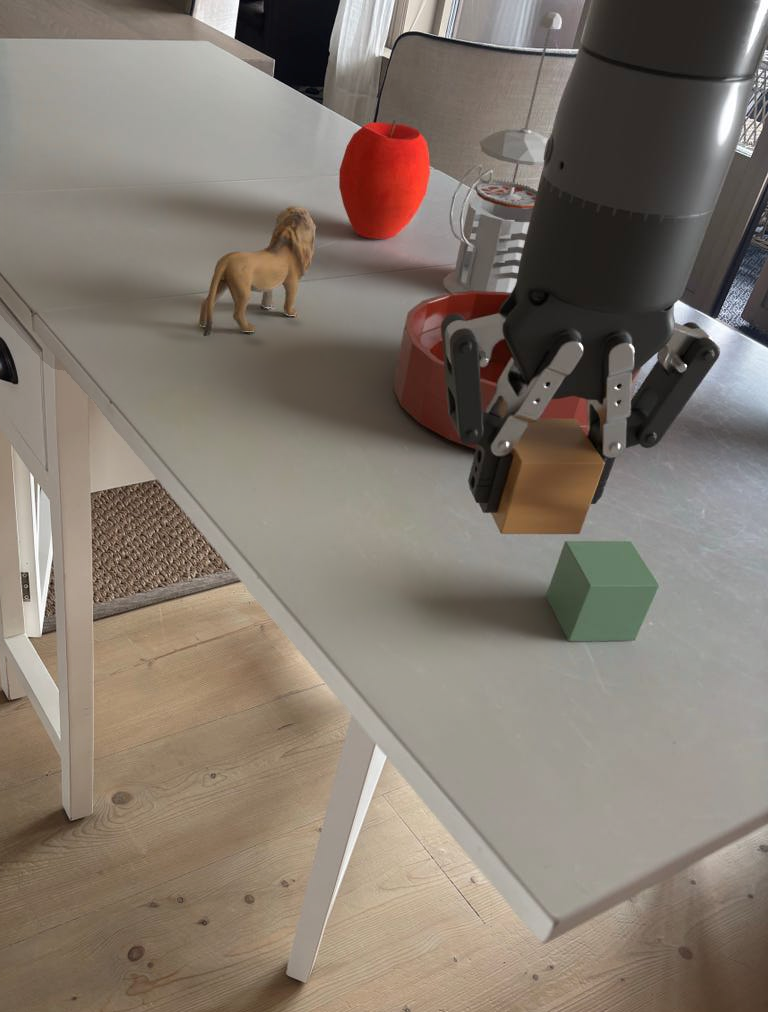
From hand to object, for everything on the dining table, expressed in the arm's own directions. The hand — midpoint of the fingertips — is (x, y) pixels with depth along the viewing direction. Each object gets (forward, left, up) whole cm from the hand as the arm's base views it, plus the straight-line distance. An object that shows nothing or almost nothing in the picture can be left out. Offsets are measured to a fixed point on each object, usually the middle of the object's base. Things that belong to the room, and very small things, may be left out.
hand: (530, 503), depth 53 cm
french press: (-15, -55, -10) cm, 58 cm away
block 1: (0, 0, -1) cm, 1 cm away
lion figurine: (+10, -46, -10) cm, 48 cm away
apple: (-6, -69, -10) cm, 70 cm away
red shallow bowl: (-10, -30, -10) cm, 33 cm away
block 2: (-7, -2, -10) cm, 13 cm away
